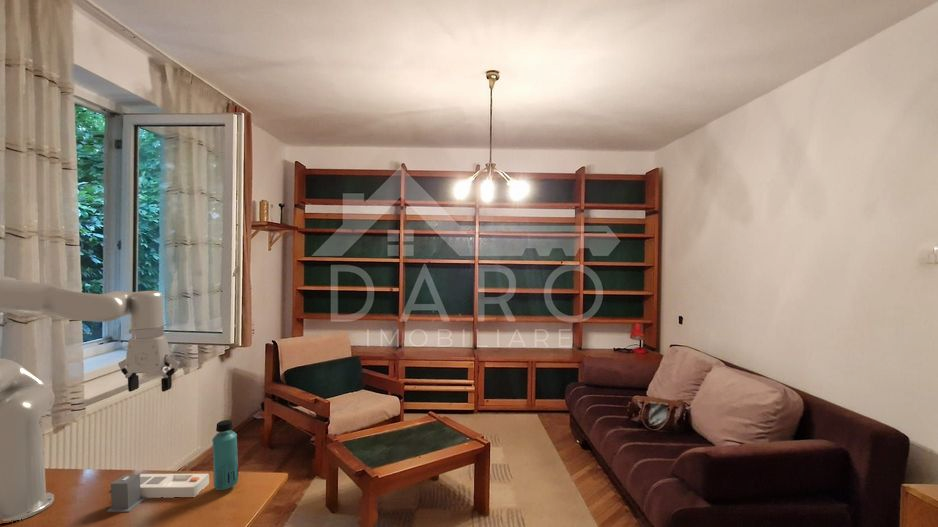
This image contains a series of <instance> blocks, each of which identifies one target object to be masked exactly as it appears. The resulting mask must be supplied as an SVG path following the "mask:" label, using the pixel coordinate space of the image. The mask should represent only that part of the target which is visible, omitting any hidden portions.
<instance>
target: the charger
mask: <svg viewBox="0 0 938 527" xmlns="http://www.w3.org/2000/svg"><path fill="white" fill-rule="evenodd" d="M140 475H141V473H139V474H122V475H121V476H120V477H118V478H117V479H116V480H114V481H113V482H111V483H110V497H111V498H110V500H111V502H110V504H111V507H112V509H129V508H130V507H131V506H132V505H134V504H135V503H136V502H137V501H139V500H140V499H141V492H140Z"/></svg>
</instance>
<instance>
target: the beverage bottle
mask: <svg viewBox="0 0 938 527" xmlns="http://www.w3.org/2000/svg"><path fill="white" fill-rule="evenodd" d="M232 429H233V421H232V420H231V419H225V420H221V421H218V422H217V423H216V429H215V431H216V432H218V433H216V435H215V436H214V437H213V438H212V439H211V440H212V454H213V456H212V459H213V460H212V464H213V466H212V470H213V471H212V472H213V479H212V481H213V482H212V484H213V487H214V489H215V490H217V491H218V490H219V491H220V490H221V491H222V490H228V489H230V488H233V487H234V486H236V485H237V484H238V482H239V476H240V475H239V472H240V471H239V464H238V463H239V460H238V458H239V457H238V447H239V446H238V438H237V437H238V434H237V433H236V432H235V431H233V430H232Z"/></svg>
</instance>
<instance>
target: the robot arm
mask: <svg viewBox="0 0 938 527" xmlns="http://www.w3.org/2000/svg"><path fill="white" fill-rule="evenodd" d="M0 313H11V314H20V315H21V314H25V315H36V316H39V315H40V316H47V317H50V318H57V319H62V320H63V319H64V320H70V321H71V320H72V321H79V322H80V321H81V322H83V321H84V322H98V323H99V322H100V323H101V322H102V323H105V322H106V323H108V322H112V321H116V320H118V319H120V318H121V317H124V316H129V315H131V316H130V317H131V320H130V321H131V328H130V329H128V333H129V334H130V335H131V338H129V339H128V342H127V348H126V355H125V356H126V358H125V359H124V360H121V361H119V362H118V363H117V364H118V367H119V369H120V371H121V373H122V374H124V378H125V379H127V387H128V390H127V391H128V392H133V391H135V390H138V389H139V387H140V380H139V375H138V374H148V373H149V374H156V373H159V374H160V375H161V377H162V378H161V392H167V391H169V390H171V389H172V383H173V382H172V381H173V380H172V379H173V378H172V376H174V373H176V372H177V371H178V368H179V366H180V364H181V362H180V361H179V360H177V359H175V358H174V357H171V355H170V354H171V353H170V347H169V346H170V345H169V342H168V340H167V336H166V335H165V327H164V326H165V325H164V323H165V322H164V295H163V293H162V292H161V291H159V290H141V291H125V290H124V291H123V290H115V291H114V290H113V291H110V292H107V293H104V294H102V293H101V294H100V293H92V292H91V293H90V292H82V291H81V292H80V291H79V292H78V291H72V290H67V289H64V288H61V287H60V286H58V285H57V284H53V283H47V282H46V283H45V282H34V281H24V280H18V279H17V278H16V277H10V276H4V275H1V276H0ZM170 365H171V366H170ZM55 396H56V395H55V393H54V390H53V389H52V388H51V387H50V386H49V385H47V384H46V383H45V382H44V381H42V380H41V379H39V378H38V377H37V375H34V374H33V373H32V372H31V371H29V370H28V369H27V368H25V367H24V366H22V365H21V364H20V363H18V362H16V361H14V360H11V359H8V358H0V520H3V521H11V520H19V521H22V520H25V519H27V518H28V519H29V518H30V517H32V516H35V515H37V514H39V513H41V512H43V511H44V510H45V509H47V508H49V507H50V506H51V505H52V504H53V503H54V501H55V495H54V494H53V493H52V492H47V489H46V488H47V486H46V468H45V467H46V466H45V447H44V446H45V444H44V436H43V432H42V431H43V430H42V427H41V426H40V419H41V418H42V417H43V416H44V415H45V414H46V413H47V412H48V411H50V409H51V408H52V407H53V405H54V404H55V402H56V401H55V400H56V397H55ZM21 519H22V520H21Z"/></svg>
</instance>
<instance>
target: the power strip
mask: <svg viewBox="0 0 938 527" xmlns="http://www.w3.org/2000/svg"><path fill="white" fill-rule="evenodd" d="M208 485H210V473H140V492H141V497H146V499H156V498H157V499H161V497H163V499H165V498H166V499H167V498H169V499H172V498H173V499H175V498H174V497H194V498H195V497H197V495H199V494H200V493H201V492H202V491H203V490H204V489H205V488H206V487H207V486H208ZM202 489H203V490H202ZM201 490H202V491H201ZM200 491H201V492H200ZM199 492H200V493H199Z"/></svg>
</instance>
